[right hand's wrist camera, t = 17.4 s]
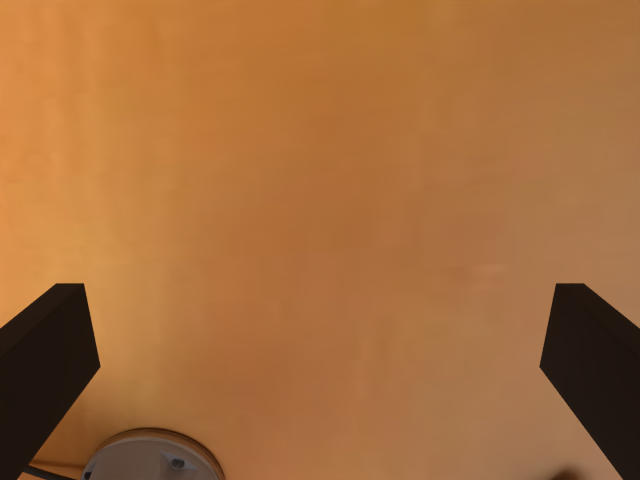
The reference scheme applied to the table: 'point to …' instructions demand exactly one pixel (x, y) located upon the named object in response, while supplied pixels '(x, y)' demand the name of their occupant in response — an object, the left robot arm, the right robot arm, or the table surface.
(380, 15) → the table surface
